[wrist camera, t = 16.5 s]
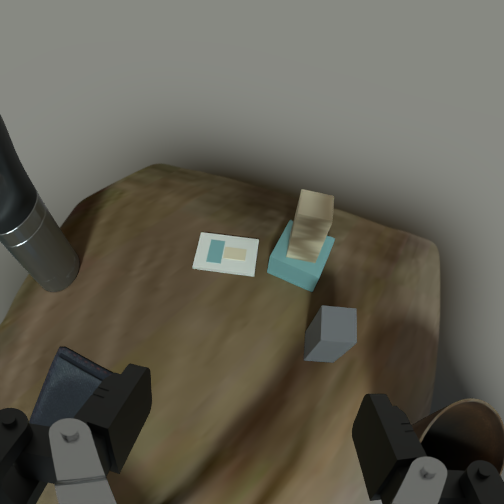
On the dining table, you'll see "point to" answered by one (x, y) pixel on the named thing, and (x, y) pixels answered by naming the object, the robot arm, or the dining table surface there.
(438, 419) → the plant pot
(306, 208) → the maple block
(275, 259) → the teal base block
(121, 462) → the robot arm
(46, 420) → the dark blue-grey book
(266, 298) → the dining table surface
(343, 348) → the charcoal block
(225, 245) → the card
